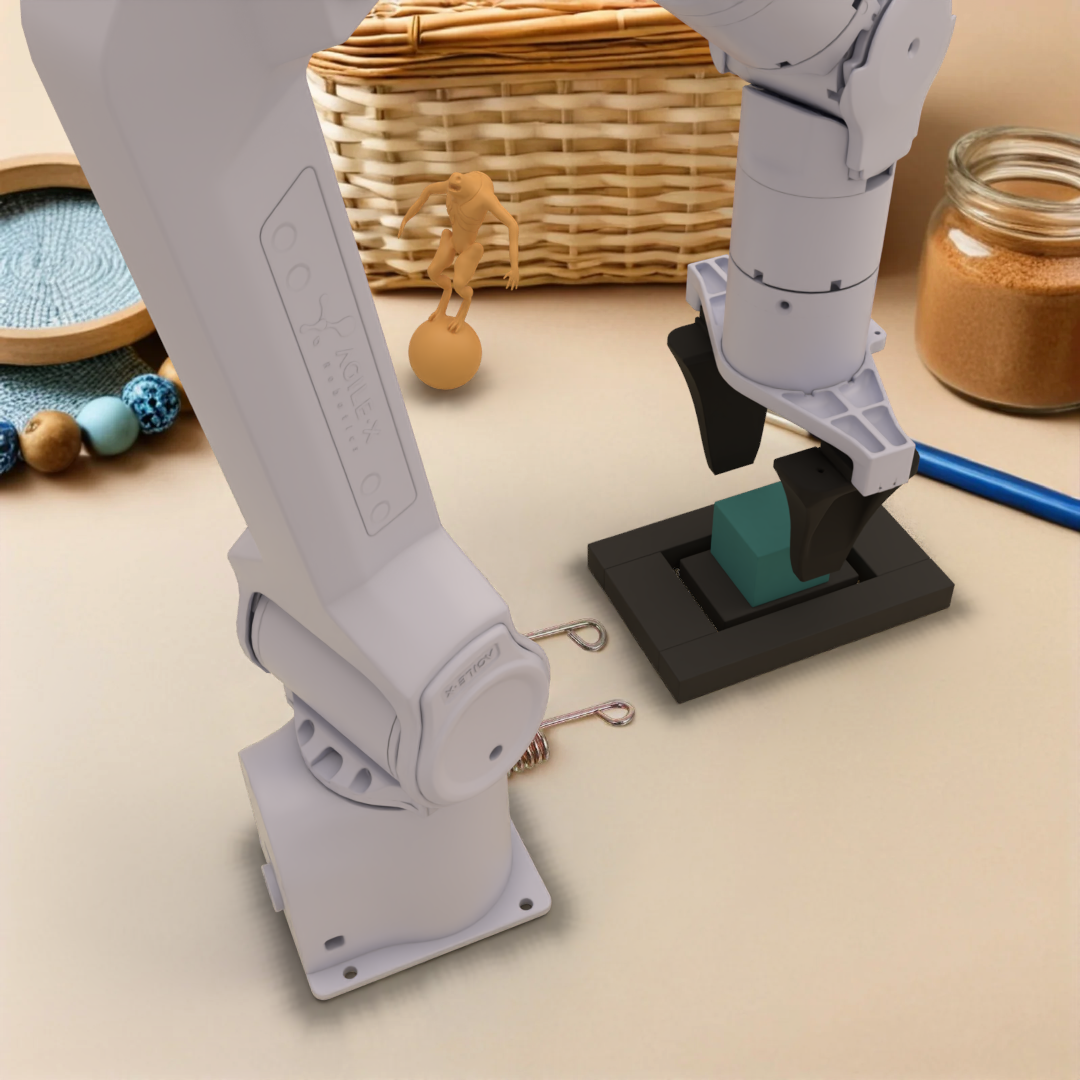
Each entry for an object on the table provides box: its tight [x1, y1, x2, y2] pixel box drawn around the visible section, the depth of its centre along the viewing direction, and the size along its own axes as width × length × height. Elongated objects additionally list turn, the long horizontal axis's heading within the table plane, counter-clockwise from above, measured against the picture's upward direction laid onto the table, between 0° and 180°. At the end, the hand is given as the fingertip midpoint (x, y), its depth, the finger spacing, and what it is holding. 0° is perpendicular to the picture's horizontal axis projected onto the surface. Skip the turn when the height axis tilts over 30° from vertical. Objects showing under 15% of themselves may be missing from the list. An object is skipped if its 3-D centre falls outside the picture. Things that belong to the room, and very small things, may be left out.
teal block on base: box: [678, 480, 859, 632], centre depth 66 cm, size 7×4×4 cm, turn 113°
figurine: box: [397, 170, 520, 391], centre depth 76 cm, size 8×6×12 cm
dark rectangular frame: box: [587, 503, 956, 704], centre depth 67 cm, size 14×9×2 cm
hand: (772, 516), depth 65 cm, fingers open, 7 cm apart
